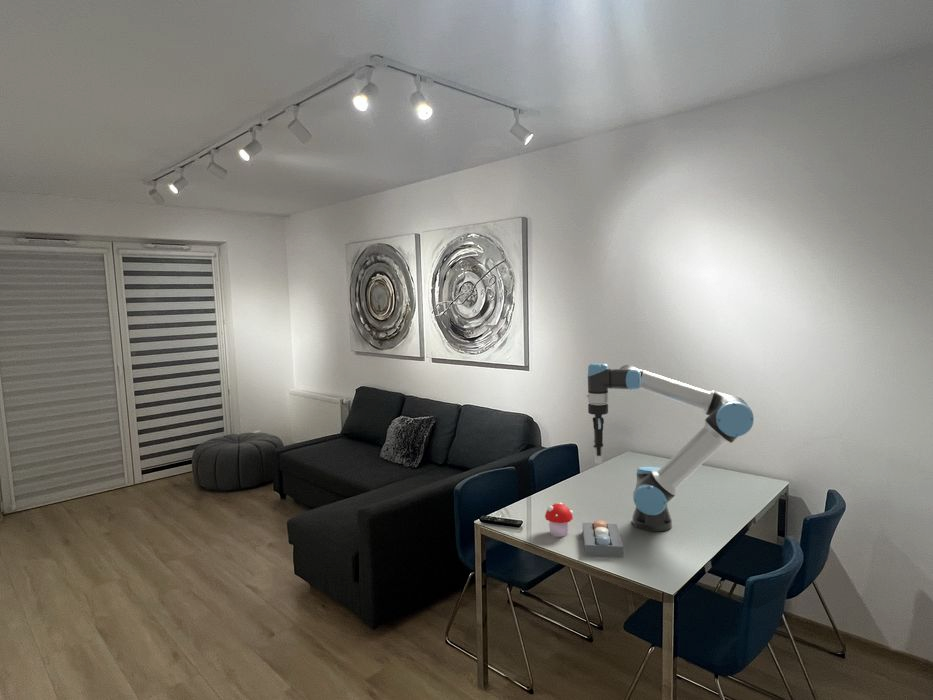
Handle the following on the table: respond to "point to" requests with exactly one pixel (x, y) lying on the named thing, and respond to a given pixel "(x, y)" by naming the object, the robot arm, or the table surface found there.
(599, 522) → the button terracotta
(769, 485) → the table surface
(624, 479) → the table surface
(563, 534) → the mushroom
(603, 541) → the button slate
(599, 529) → the button ivory
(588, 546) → the grey button tray
